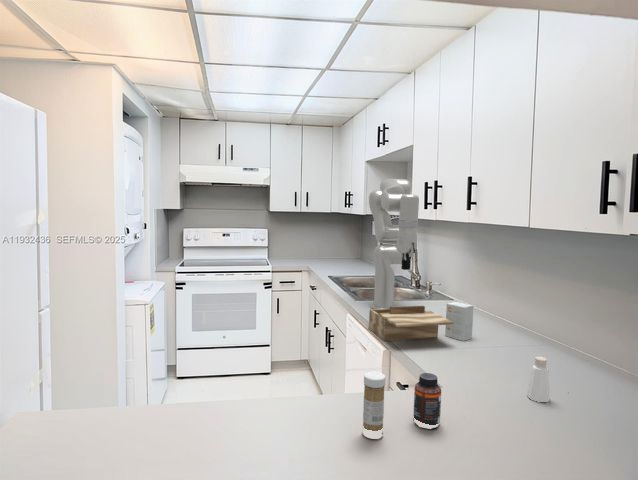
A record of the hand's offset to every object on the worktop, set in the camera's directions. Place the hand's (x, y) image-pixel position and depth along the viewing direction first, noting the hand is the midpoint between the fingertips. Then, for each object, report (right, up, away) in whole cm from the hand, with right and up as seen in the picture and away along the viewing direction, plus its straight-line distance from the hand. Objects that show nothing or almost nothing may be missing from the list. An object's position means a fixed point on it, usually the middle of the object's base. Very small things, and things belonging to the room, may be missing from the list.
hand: (405, 269), depth 170 cm
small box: (+19, -26, -9) cm, 33 cm away
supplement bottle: (-11, -30, -75) cm, 82 cm away
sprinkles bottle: (-24, -30, -81) cm, 90 cm away
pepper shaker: (+22, -30, -61) cm, 71 cm away
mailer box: (-3, -25, -7) cm, 26 cm away
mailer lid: (0, -17, -17) cm, 24 cm away
